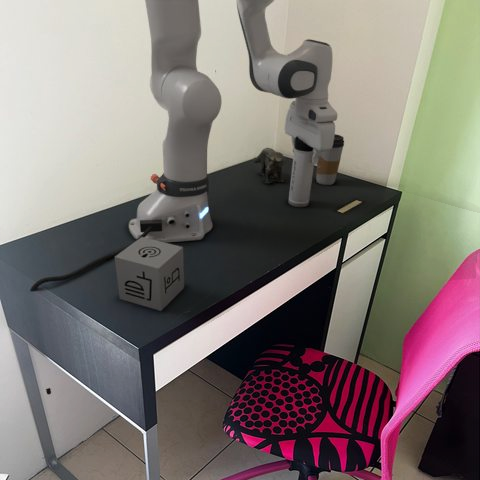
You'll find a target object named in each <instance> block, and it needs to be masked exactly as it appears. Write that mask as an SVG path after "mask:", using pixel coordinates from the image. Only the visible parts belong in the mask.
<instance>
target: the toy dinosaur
mask: <svg viewBox="0 0 480 480" xmlns="http://www.w3.org/2000/svg"><path fill="white" fill-rule="evenodd" d="M285 159H286V158H285V156H284V155H283V153H281V152H280V151H276V150H274V149H273V148H271V147H265V148H263V149H262V150H261V152H260V153H259V154H258V155H257V157H253V159H252V161H253V164H258V163H260V167H261V168H260V172H259V176H265V181H264V184H272V181H271V178H272V179H277V182H278V183H284V181H285V180H284V179H283V178H282V173H283V172H282V171H283V167H284V165H285V163H286V160H285ZM276 175H277V176H276Z"/></svg>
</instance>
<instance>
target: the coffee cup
mask: <svg viewBox="0 0 480 480" xmlns="http://www.w3.org/2000/svg"><path fill="white" fill-rule="evenodd" d="M344 146H345V140H344V136H343V135H340V134H336V133H335V135H334V142H333V146H332V148H331V149H330V150H329V151H323V152H322V153H321V155H320V156H319V158H318V163H317V164H316V183H318V184H319V185H323V186H324V185H325V186H331V185H333V184H335V182H336V179H337V174H338V171H339V167H340V163H341V159H342V154H343V148H344Z"/></svg>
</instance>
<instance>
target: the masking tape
mask: <svg viewBox="0 0 480 480" xmlns="http://www.w3.org/2000/svg"><path fill="white" fill-rule="evenodd" d="M360 204H362V201H360V200H357V199H356V200H354V201H352V202H350V203H348V204H346V205H345V206H343V207H342V208H340V209H338V210H337V212H338V213H342V214H344V213H346V212H347V211H350V210H351V209H352V208H355V207H356V206H358V205H360Z"/></svg>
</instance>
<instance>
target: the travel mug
mask: <svg viewBox="0 0 480 480" xmlns="http://www.w3.org/2000/svg"><path fill="white" fill-rule="evenodd" d="M313 154H314V152H313V148H312V147H311V146H309V145H307V144H306V143H304V142H303V141H302V140H300V139H299V138H298V136H297V137H296V139H295V147H294V153H293V157H292V165H291V173H290V183H289V185H290V186H289V191H288V201H287V202H288V204H289V205H290V206H291V207H295V208H305V207H307V206H309V204H310V197H311V196H310V195H311V190H312V189H311V188H312V182H313V174H314V168H315V164H313V163H311V162H310V157H311V156H313Z"/></svg>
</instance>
